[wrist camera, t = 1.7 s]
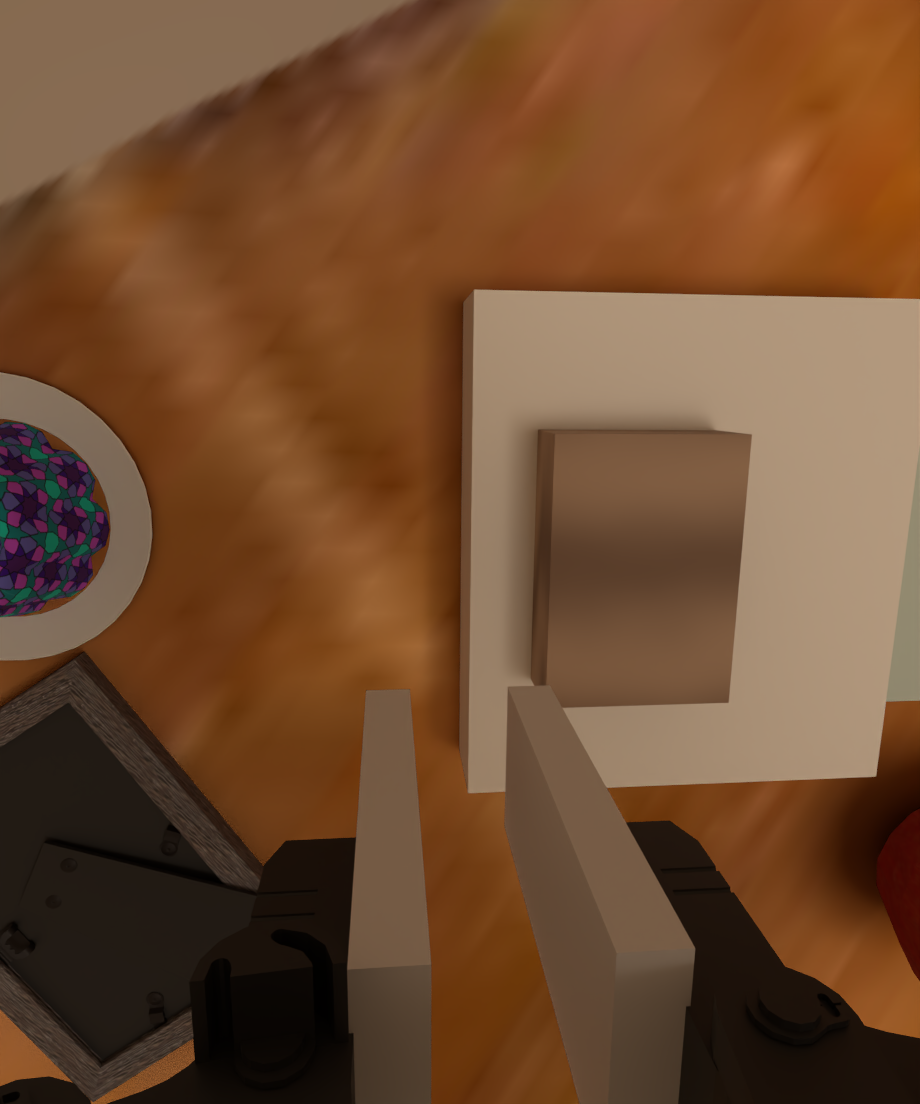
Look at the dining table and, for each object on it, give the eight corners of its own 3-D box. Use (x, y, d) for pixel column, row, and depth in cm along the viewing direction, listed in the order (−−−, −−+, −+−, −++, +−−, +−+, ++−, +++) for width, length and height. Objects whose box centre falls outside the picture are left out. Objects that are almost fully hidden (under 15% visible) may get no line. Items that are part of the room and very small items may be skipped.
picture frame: (325, 932, 38) (89, 647, 34) (322, 962, 36) (71, 663, 32) (104, 1074, 38) (-155, 809, 34) (89, 1110, 36) (-188, 834, 32)
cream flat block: (825, 736, 37) (876, 776, 33) (459, 749, 36) (468, 793, 32) (874, 310, 33) (938, 299, 29) (463, 302, 32) (474, 289, 28)
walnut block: (697, 673, 32) (728, 702, 29) (530, 678, 31) (545, 708, 28) (715, 430, 30) (751, 434, 27) (537, 429, 29) (555, 433, 26)
